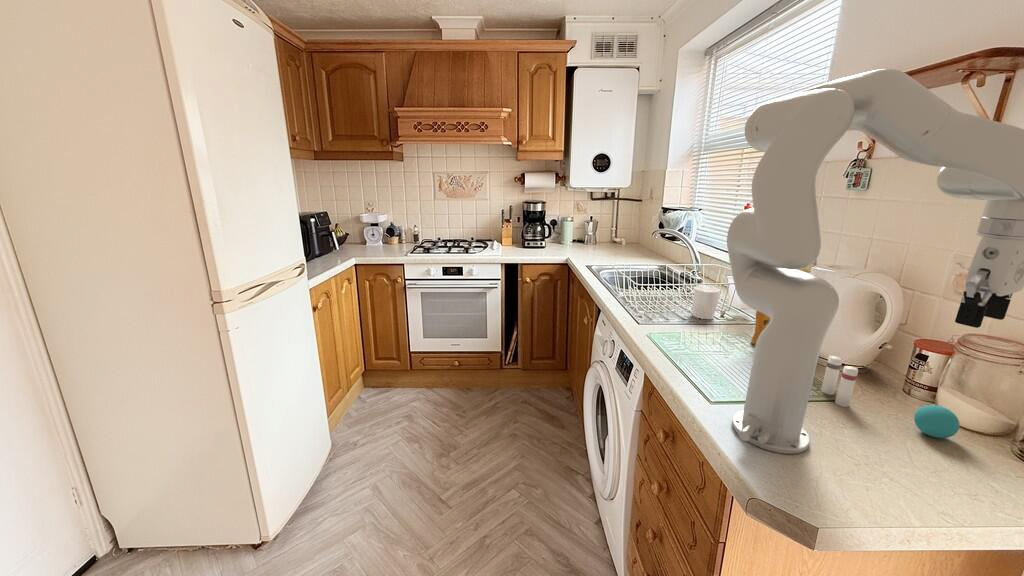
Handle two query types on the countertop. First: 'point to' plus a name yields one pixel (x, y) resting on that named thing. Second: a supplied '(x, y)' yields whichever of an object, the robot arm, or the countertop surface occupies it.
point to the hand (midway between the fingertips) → (979, 321)
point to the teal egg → (936, 421)
